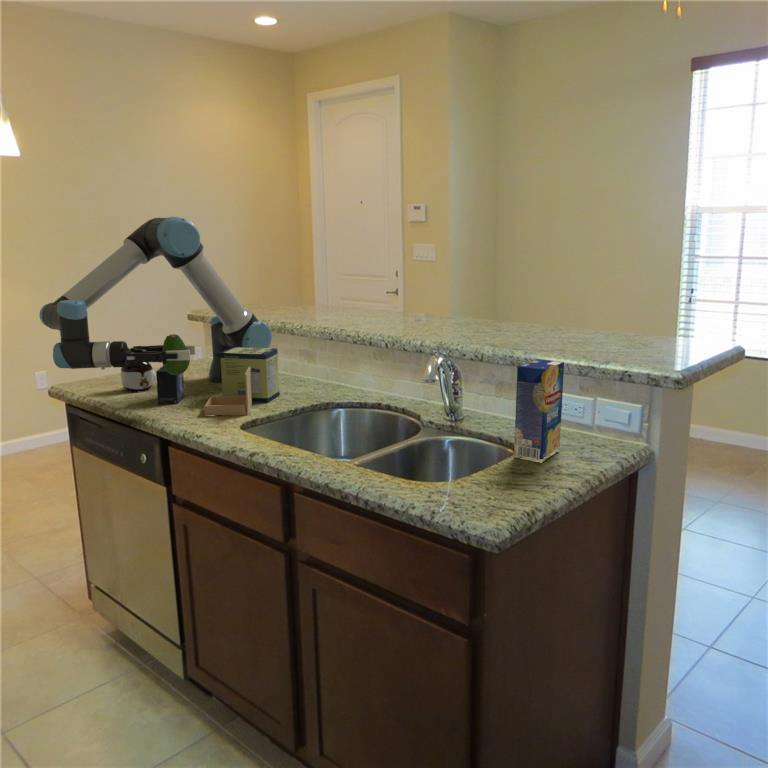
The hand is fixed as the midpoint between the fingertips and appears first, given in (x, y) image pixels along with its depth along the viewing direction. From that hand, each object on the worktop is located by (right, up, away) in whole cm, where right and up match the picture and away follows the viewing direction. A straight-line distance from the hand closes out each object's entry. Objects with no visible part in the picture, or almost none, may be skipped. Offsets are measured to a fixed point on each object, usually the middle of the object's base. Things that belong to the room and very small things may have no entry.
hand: (192, 352), depth 205 cm
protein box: (+13, -14, +20) cm, 28 cm away
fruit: (-5, -7, +1) cm, 8 cm away
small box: (-11, -14, +18) cm, 26 cm away
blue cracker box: (+92, -26, -37) cm, 103 cm away
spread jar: (-27, -11, +34) cm, 45 cm away
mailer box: (+9, -17, +5) cm, 20 cm away
